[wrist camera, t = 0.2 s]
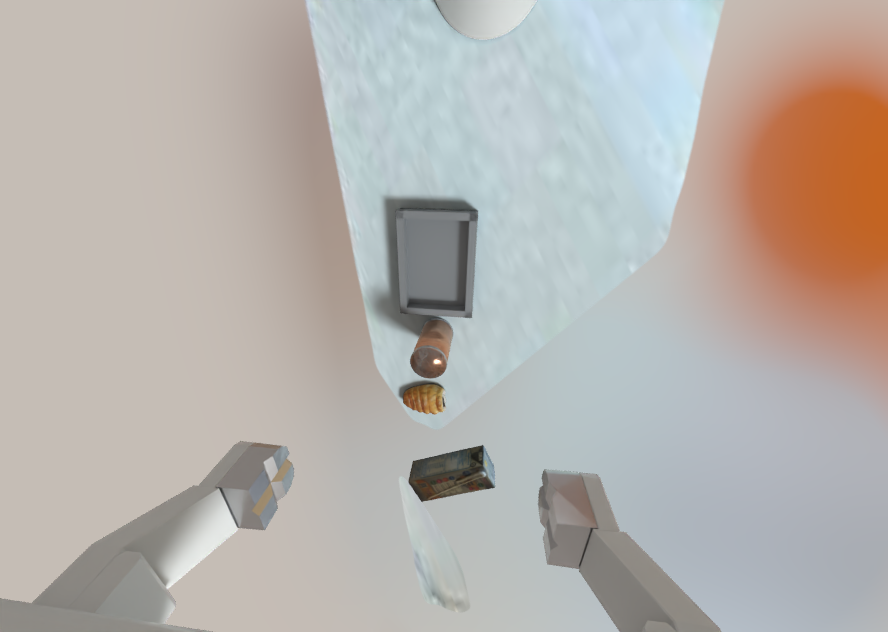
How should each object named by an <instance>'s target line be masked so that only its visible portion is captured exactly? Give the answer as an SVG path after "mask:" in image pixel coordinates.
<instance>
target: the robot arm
mask: <svg viewBox="0 0 888 632" xmlns="http://www.w3.org/2000/svg"><path fill="white" fill-rule="evenodd" d="M435 1H436V3H437V5H438V7H439V9H440V11H441V13H442V15H443V16H444V18H445V19H446V20H447V22H448V23H449V24H450V25H451V26H452V27H453V28H454V29H455V30H456V31H458V32H459V33H461V34H463V35H464V36H467V37H469V38H473V39H478V40H489V39H494V38H497V37H500V36H502V35H505V34H506V33H508V32H510V31H511V30H513V29H514V28H515V27H517V26H518V25H519V24H520V23H521V22H522V21H523V20H524V19H525V18H526V16H527V15H528V14H529V12H530V11H531V10H532V8H533V6H534V5H535V3H536V1H537V0H435ZM288 455H289V451H288V449H287V447H286V446H277V445H270V444H261V443H252V442H243V441H240V442H238V443H237V444H235V445H234V446H233V447H232V448H231V450H230V451H229V452H228V453H227V454H226V455H225V456H224V457H223V459H222V460H221V461H220V462H219V463H218V464H217V465H216V466H215V467H214V469H213V470H212V471H211V472H210V473H209V474H208V475H207V477H206V478H205V479H204V480H203V481H202V482H201V483H200V485H199V486H192V487H190V488H189V489H187V490H185V491H183V492H182V493H180V494H178V495H176V496H175V497H173V498H171V499H170V500H168V501H166V502H164V503H163V504H161V505H159V506H157V507H156V508H154V509H152V510H150V511H149V512H147V513H145V514H143V515H142V516H140V517H138V518H137V519H135V520H133V521H132V522H130V523H128V524H126V525H124V526H123V527H121V528H119V529H118V530H116V531H114V532H112V533H111V534H109V535H107V536H105V537H104V538H102V539H100V540H98V541H97V542H95V543H94V544H92V545H91V546H90V547H89V548H88V549H87V550H86V551H85V552H84V553H83V554H82V555H81V556H80V557H78V558H77V559H76V560H75V561H74V562H73V563H72V564H71V565H70V566H69V567H68V568H67V569H66V570H65V571H64V572H63V573H62V574H61V575H60V576H59V577H58V578H57V579H56V580H55V581H54V582H53V583H52V584H51V585H50V586H49V587H48V588H47V589H46V590H45V591H44V592H43V593H42V594H41V595H40V596H38V597H37V598H36V599H35V600H34V601H33V602H32V603H26V602H20V601H13V600H7V599H1V598H0V632H210V631H204V630H198V629H192V628H186V627H178V626H173V625H166V624H165V622H166V621H167V619H168V617H169V616H170V615H171V613H172V612H173V610H174V609H175V607H176V601H175V600H174V598H173V597H172V595H171V594H170V593H169V591H168V590H167V589H168V588H170V587H171V586H172V585H173V584H174V583H175V582H177V581H178V580H179V579H180V578H181V577H183V576H184V575H185V574H186V573H187V572H188V571H190V570H191V569H192V568H193V567H194V566H196V565H197V564H198V563H199V562H200V561H201V560H203V559H204V558H205V557H206V556H207V555H209V554H210V553H211V552H212V551H213V550H215V548H217V547H218V546H219V545H220V544H222V543H223V542H224V541H225V540H226V539H228V538H229V537H230V536H231V535H232V534H233V533H235V532H236V531H237V530H238V528H246V529H258V530H265V529H266V527H267V526H268V524H269V522H270V521H271V519H272V517H273V516H274V513H275V512H276V511H277V509H278V506H277V501H278V500H279V499H281V498H282V497H283V496H285V495H286V494H287V492H288V490H289V488H290V487H291V484H292V480H293V477H294V468H293V464H292V463H291V462H290V461H289V460H288V459H287V457H288ZM542 482H543V486H542V487H540V490H539V503H538V505H539V516H540V522H541V524H542V525H543V526H544V527H545V532H544V536H543V541H544V547H545V553H546V559H547V564H549V565H556V566H562V567H569V568H576V569H579V572H580V573H581V574H582V576H583V578H584V579H585V581H586V582H587V583H588V585H589V586H590V588H591V589H592V591H593V592H594V594H595V595H596V597H597V598H598V600H599V601H600V603H601V604H602V606H603V607H604V609H605V610H606V612H607V613H608V615H609V616H610V618H611V619H612V621H613V622H614V624H615V625H616V627H617V628H618V630H619V631H620V632H721V630H720V628H719V627H718V626H717V625H716V624H715V623H714V622H713V621H712V620H711V619H710V618H709V617H708V616H707V615H706V614H705V613H704V612H703V611H702V610H701V609H700V608H699V607H698V606H697V605H696V604H695V603H694V602H693V601H692V600H691V599H690V598H689V596H688V595H687V594H685V592H683V590H682V589H681V588H680V587H679V586H678V585H677V584H676V583H675V582H674V581H673V580H672V579H671V578H670V577H669V576H668V575H667V574H666V573H665V572H664V571H663V570H662V569H661V568H660V567H659V566H658V565H657V564H656V563H655V562H654V561H653V560H652V558H651V557H649V555H648V554H647V553H646V552H645V551H643V549H642V548H641V547H640V546H639V545H638V544H637V543H636V542H635V541H634V540H633V539H632V538H631V537H630V536H629V535H628V534H627V533H626V532H621V531H620V530H619V527H618V524H617V522H616V519H615V516H614V514H613V511H612V508H611V506H610V503H609V500H608V498H607V495H606V492H605V490H604V487H603V484H602V482H601V479H600V477H599V476H598V475H597V474H590V473H578V472H571V471H557V470H544V471H543V474H542Z"/></svg>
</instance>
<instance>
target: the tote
mask: <svg viewBox="0 0 888 632" xmlns="http://www.w3.org/2000/svg"><path fill="white" fill-rule="evenodd" d="M477 221H478V211H468V210H437V209H405V208H400V209H398V210H396V229H397V250H398V271H399V292H400V313H405V314H420V315H435V316H449V317H464V318H472V307H473V290H474V273H475V256H476V238H477Z"/></svg>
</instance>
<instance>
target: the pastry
mask: <svg viewBox="0 0 888 632" xmlns="http://www.w3.org/2000/svg"><path fill="white" fill-rule="evenodd" d="M403 403H404V404H405V405H406V406H407V407H409V408H412V410H417V411H418V412H424V413H426V414H429V413H432V414H437V413H438V412H443V411H445V409H446V406H445V403H446V398H445V390H444V389H443V388H442V387H440V386H438V385H435V384H426V385H420V386H416V387H412V388H409V389H408V390H406V391H405V393H404V395H403Z"/></svg>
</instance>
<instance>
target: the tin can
mask: <svg viewBox="0 0 888 632" xmlns="http://www.w3.org/2000/svg"><path fill="white" fill-rule="evenodd" d="M452 337H453V329H452V326H451V325H450V324H449V323H448V322H447V321H446V320H444V319H441V318H433V319H430V320H428V321H427V322H426V323H425V324H424V326H423V329H422V332H421V334H420V337H419V339H418V342H417V344H416V347H415V349H414V352H413V353H412V356H411V359H410V364H411V367H412V369H413V370H414V372H415V373H417V374H418V375H419V376H421V377H424V378H436V377H439V376H441V375H442V374H443V373H444V372H445V370H446V367H447V360H448V356H449V351H450V346H451V341H452Z"/></svg>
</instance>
